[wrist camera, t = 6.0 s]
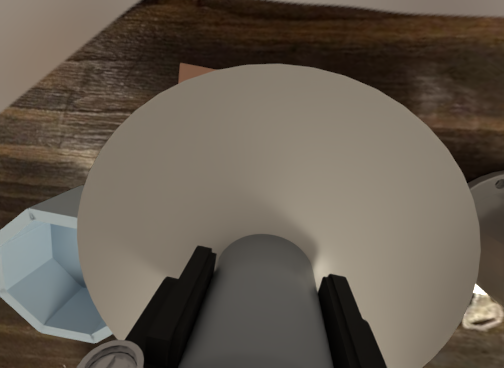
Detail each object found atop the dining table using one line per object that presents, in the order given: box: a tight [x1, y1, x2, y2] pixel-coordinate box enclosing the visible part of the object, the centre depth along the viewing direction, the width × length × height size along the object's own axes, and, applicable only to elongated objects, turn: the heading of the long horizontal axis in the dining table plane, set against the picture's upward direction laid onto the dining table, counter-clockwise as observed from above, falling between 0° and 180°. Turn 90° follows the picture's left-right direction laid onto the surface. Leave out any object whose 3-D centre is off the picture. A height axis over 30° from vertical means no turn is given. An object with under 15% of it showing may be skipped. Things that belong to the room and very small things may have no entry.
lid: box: [77, 64, 481, 368], centre depth 8 cm, size 16×16×6 cm
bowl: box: [0, 185, 113, 343], centre depth 25 cm, size 13×13×6 cm
